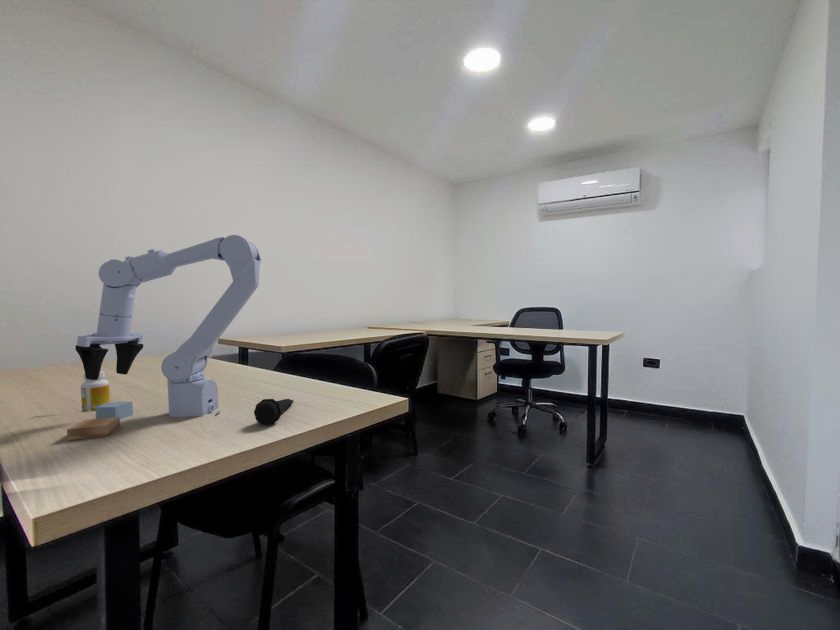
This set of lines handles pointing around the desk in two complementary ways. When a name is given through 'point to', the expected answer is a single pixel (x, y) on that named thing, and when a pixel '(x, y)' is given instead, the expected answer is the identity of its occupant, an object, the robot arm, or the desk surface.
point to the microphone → (271, 410)
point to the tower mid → (93, 428)
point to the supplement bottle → (94, 393)
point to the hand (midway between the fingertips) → (107, 376)
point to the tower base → (98, 437)
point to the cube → (114, 410)
